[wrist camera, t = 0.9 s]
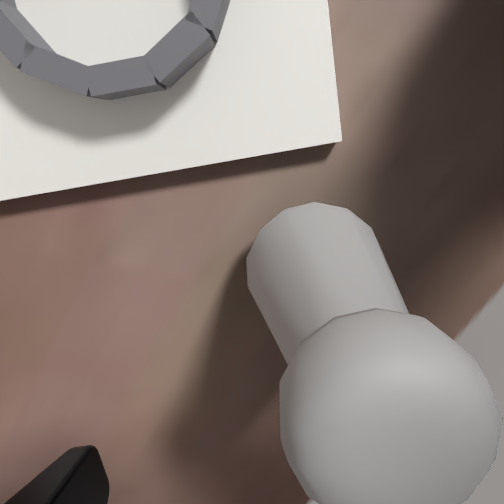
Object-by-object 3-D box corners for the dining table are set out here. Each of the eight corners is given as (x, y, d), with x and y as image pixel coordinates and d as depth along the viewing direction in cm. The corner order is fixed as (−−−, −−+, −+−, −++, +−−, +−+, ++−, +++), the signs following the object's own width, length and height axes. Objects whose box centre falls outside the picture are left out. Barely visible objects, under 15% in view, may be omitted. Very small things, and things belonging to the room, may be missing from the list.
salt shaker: (332, 326, 21) (451, 618, 8) (228, 283, 20) (192, 530, 8) (389, 223, 19) (638, 393, 7) (279, 172, 19) (336, 259, 6)
